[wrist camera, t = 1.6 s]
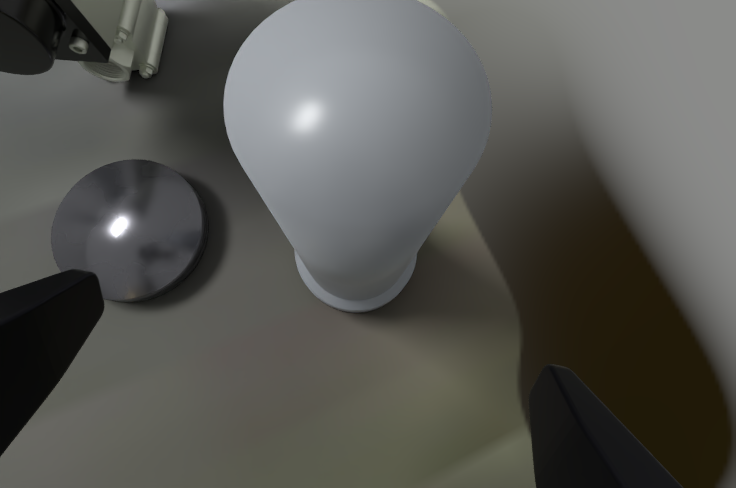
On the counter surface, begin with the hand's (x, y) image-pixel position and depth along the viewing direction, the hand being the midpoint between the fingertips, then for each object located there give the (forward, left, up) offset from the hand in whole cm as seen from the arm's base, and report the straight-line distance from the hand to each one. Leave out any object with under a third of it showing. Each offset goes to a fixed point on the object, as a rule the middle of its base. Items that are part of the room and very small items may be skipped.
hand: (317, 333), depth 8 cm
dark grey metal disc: (+7, +9, -11) cm, 15 cm away
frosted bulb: (+4, -1, -11) cm, 12 cm away
